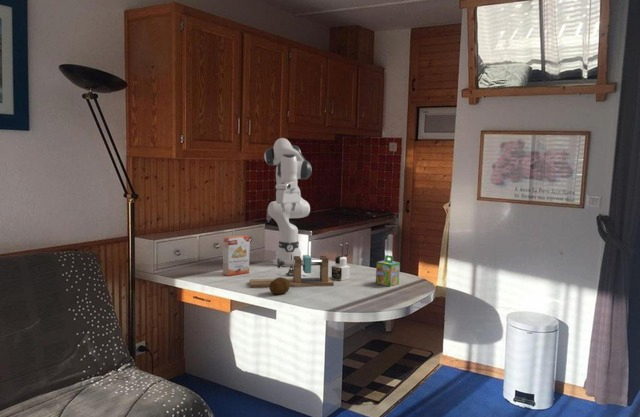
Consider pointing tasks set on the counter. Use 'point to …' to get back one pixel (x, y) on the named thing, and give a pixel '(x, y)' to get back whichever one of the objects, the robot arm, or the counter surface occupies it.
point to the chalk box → (387, 272)
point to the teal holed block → (307, 264)
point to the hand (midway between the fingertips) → (288, 211)
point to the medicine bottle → (340, 269)
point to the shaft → (292, 262)
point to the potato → (279, 286)
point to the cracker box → (236, 255)
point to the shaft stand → (297, 279)
